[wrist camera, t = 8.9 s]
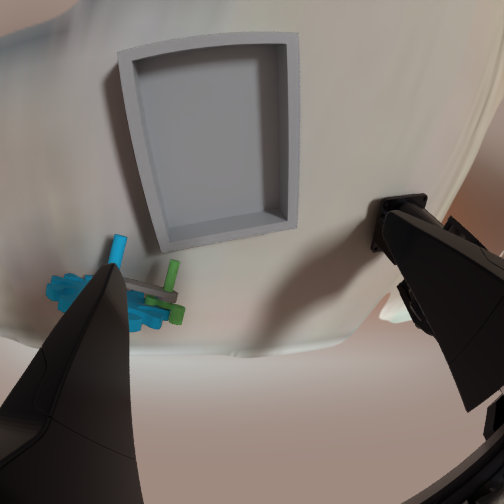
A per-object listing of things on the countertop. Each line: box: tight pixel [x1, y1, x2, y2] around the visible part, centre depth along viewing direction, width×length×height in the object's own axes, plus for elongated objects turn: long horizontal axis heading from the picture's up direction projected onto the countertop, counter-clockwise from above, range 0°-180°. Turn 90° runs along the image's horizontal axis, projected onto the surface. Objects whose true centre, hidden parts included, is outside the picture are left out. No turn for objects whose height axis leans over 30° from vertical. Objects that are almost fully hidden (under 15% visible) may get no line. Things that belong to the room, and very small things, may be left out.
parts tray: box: [117, 32, 300, 253], centre depth 17 cm, size 11×15×2 cm
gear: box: [46, 234, 185, 332], centre depth 19 cm, size 11×6×10 cm
